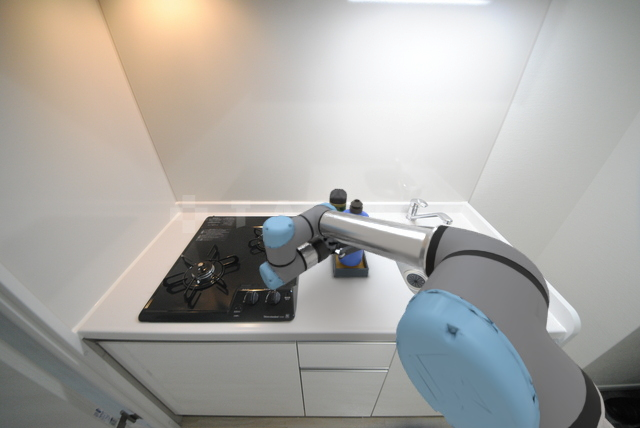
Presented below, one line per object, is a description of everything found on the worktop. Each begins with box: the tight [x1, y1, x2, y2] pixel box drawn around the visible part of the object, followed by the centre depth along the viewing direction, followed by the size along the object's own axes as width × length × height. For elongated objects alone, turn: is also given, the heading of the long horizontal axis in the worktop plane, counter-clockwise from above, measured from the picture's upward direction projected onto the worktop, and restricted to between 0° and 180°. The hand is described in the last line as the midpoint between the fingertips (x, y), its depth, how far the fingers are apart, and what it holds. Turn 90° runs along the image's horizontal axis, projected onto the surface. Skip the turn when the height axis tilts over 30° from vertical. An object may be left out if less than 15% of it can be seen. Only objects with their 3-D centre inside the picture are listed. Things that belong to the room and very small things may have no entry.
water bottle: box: [338, 198, 370, 266], centre depth 72 cm, size 9×9×25 cm
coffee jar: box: [328, 188, 348, 212], centre depth 97 cm, size 10×8×19 cm
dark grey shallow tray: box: [332, 243, 370, 278], centre depth 85 cm, size 24×12×4 cm, turn 0°
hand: (361, 224), depth 74 cm, fingers closed on water bottle, 9 cm apart
